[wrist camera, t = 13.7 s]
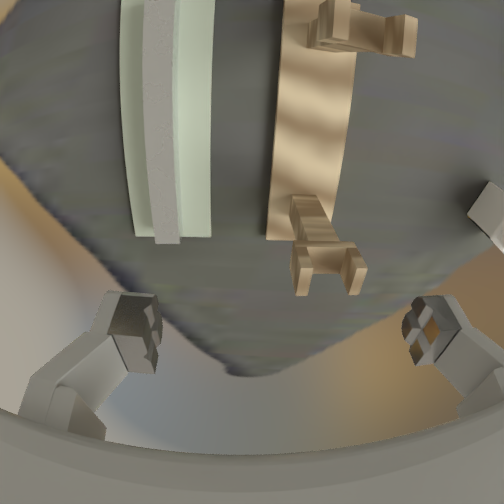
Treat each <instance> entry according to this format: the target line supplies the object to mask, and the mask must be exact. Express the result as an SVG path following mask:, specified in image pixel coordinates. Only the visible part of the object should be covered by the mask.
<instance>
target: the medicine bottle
mask: <svg viewBox="0 0 504 504" xmlns="http://www.w3.org/2000/svg"><path fill="white" fill-rule="evenodd" d="M467 217H468V218H469V219H470V220H472V221H473V222H474V223H475V224H476V225H477V226H478V227H479V228H480V229H481V230H482V231H483V232H484V233H485V234H486V235H487V237H488V238H489V239H490V240H491V241H492V242H493V243H494V244H495V245H496V246H497V247H498V248H499V249H500V250H501V251H502V252H503V253H504V191H503V190H501V189H500V188H499V187H497V186H496V185H495V184H493V183H492V182H490V181H489V182H488V184H487V185H486V187H485V188H484V190H483V191H482V193H481V194H480V196H479V197H478V199H477V200H476V201H475V203H474V204H473V206H472V207H471V209H470V210H469V211H468V213H467Z"/></svg>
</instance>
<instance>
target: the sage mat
mask: <svg viewBox="0 0 504 504" xmlns="http://www.w3.org/2000/svg"><path fill="white" fill-rule="evenodd" d="M214 12H215V0H181V6H180V25H179V54H178V131H179V163H180V184H181V202H182V217H183V234H182V237H211V192H210V135H211V82H212V53H213V31H214ZM143 17H144V0H122V1H121V19H120V96H121V116H122V130H123V142H124V153H125V163H126V172H127V180H128V188H129V196H130V203H131V210H132V216H133V223H134V229H135V235H136V236H155V235H154V228H153V220H152V212H151V203H150V194H149V185H148V174H147V162H146V149H145V134H144V115H143V79H142V51H143Z"/></svg>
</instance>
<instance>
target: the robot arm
mask: <svg viewBox="0 0 504 504" xmlns="http://www.w3.org/2000/svg"><path fill="white" fill-rule="evenodd" d="M158 305H159V302H158V298H157V295H155V294H144V293H133V292H119V291H107V293H106V294H105V295H104V297H103V300H102V302H101V304H100V307H99V309H98V312H97V314H96V317H95V319H94V322H93V325H92V327H91V330H90V332H84V333H83V334H82V335H81V336H80V337H78V338H77V339H76V340H74V341H73V342H72V343H71V344H70V345H68V346H67V347H66V348H65V349H63V350H62V351H61V352H60V353H58V354H57V355H56V356H55V357H54V358H52V359H51V360H50V361H49V362H47V363H46V364H45V365H44V366H43V367H42V368H40V369H39V370H38V371H37V372H35V373H34V374H33V375H32V376H31V378H30V380H29V383H28V386H27V389H26V391H25V394H24V397H23V400H22V403H21V406H20V409H19V412H18V415H16V414H13V413H11V412H8V411H6V410H3V409H1V408H0V504H504V350H503V349H502V348H501V347H500V346H498V345H497V344H496V343H495V342H493V341H492V340H491V339H490V338H488V337H487V336H486V335H484V334H483V333H482V332H480V331H479V330H478V329H477V328H473V327H472V326H471V324H470V322H469V320H468V319H467V317H466V315H465V314H464V312H463V310H462V309H461V307H460V305H459V304H458V302H457V300H456V299H455V297H454V296H452V295H436V296H418V297H416V298H415V299H414V300H413V302H412V304H411V307H412V310H410V311H409V312H408V313H407V314H406V315H405V317H404V319H403V321H402V328H401V329H402V335H403V337H404V340H405V341H406V342H407V343H409V344H410V349H409V352H410V354H411V356H412V359H413V362H414V364H415V366H420V365H427V364H434V366H436V368H437V369H438V370H439V371H440V372H441V373H442V374H443V375H444V376H445V377H446V378H447V379H448V380H449V382H450V383H451V384H452V385H453V386H454V387H455V388H456V389H457V390H458V391H459V392H460V394H461V395H462V396H463V397H464V398H465V399H464V400H463V401H462V402H461V403H460V404H458V406H457V408H456V409H457V412H458V415H459V419H456V420H454V421H451V422H448V423H445V424H441V425H438V426H435V427H432V428H428V429H425V430H421V431H418V432H414V433H410V434H407V435H403V436H398V437H394V438H390V439H386V440H381V441H376V442H372V443H366V444H360V445H354V446H348V447H342V448H335V449H328V450H320V451H310V452H299V453H287V454H286V453H285V454H265V455H219V454H198V453H185V452H175V451H165V450H157V449H149V448H143V447H136V446H130V445H124V444H119V443H114V442H108V441H104V440H105V434H106V427H105V425H104V424H103V423H102V422H101V420H100V419H98V417H97V416H96V415H95V414H94V412H95V411H96V410H97V409H98V408H99V407H100V405H101V404H102V403H103V402H104V401H105V400H106V398H107V397H108V396H109V395H110V394H111V393H112V392H113V391H114V389H115V388H116V387H117V386H118V385H119V384H120V382H121V381H122V380H123V379H124V378H125V377H126V376H127V375H128V372H136V373H146V374H155V372H156V366H157V361H158V353H157V349H156V348H157V347H158V346H159V345H160V344H161V338H162V328H163V325H162V317H161V314H160V313H159V312H158V311H157V309H158Z"/></svg>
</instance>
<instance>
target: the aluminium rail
mask: <svg viewBox="0 0 504 504" xmlns="http://www.w3.org/2000/svg"><path fill="white" fill-rule="evenodd" d="M180 6H181V0H144V17H143V51H142V79H143V115H144V134H145V149H146V162H147V174H148V185H149V194H150V203H151V212H152V220H153V228H154V235H155V243H156V244H180V242H181V238H182V234H183V217H182V202H181V184H180V163H179V131H178V54H179V25H180Z"/></svg>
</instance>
